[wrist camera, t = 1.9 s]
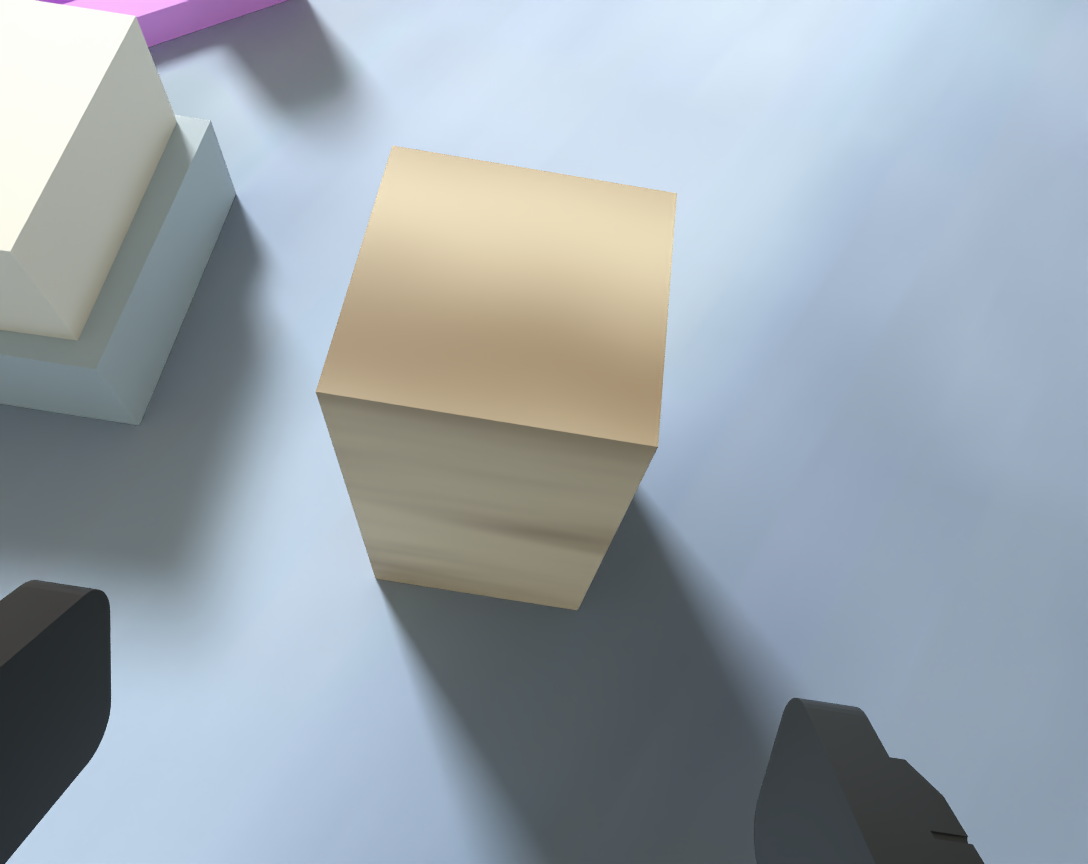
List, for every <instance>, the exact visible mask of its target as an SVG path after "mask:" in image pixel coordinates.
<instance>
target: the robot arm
mask: <svg viewBox="0 0 1088 864" xmlns="http://www.w3.org/2000/svg"><path fill="white" fill-rule="evenodd" d="M110 708H111V651H110V605H109V600H108V598H107V596H106V594H105V593H104V592H103V591H101V590H98V589H91V588H85V587H78V586H71V585H65V584H58V583H52V582H45V581H39V580H31V581H28V582H26V583H24V584H23V585H21V586H20V587H18V588H17V589H16V590H14V591H13V592H11V593H10V594H9V595H7V596H6V597H5V598H3V599H2V600H1V601H0V864H5V863H6V862H7V861H8V859H9V858H10V857H11V856H12V854H13V853H14V852H15V851H16V850H17V848H18V847H19V846H20V845H21V844H22V842H23V841H24V840H25V839H26V837H27V836H28V835H29V834H30V833H31V831H32V830H33V829H34V828H35V827H36V825H37V824H38V823H39V822H40V821H41V819H42V818H43V817H44V816H45V814H46V813H47V812H48V811H49V810H50V808H51V807H52V806H53V805H54V804H55V802H56V801H57V800H58V799H59V798H60V796H61V795H62V794H63V793H64V791H65V790H66V789H67V788H68V787H69V785H70V784H71V783H72V782H73V781H74V779H75V778H76V777H77V776H78V774H79V773H80V772H81V771H82V770H83V768H84V767H85V766H86V765H87V764H88V762H89V761H90V760H91V758H92V757H93V755H94V754H95V752H96V750H97V748H98V746H99V744H100V742H101V740H102V738H103V735H104V732H105V730H106V727H107V723H108V719H109V715H110ZM967 837H968V836H967V834H966V833H965V831H964V829H963V828H962V826H961V825H960V823H959V821H958V820H957V818H956V816H955V815H954V813H953V811H952V810H951V808H950V806H949V805H948V803H947V801H946V800H945V798H944V797H943V795H942V794H940V793H939V792H938V791H937V790H936V789H935V788H934V787H933V786H932V785H931V784H930V783H929V782H928V781H927V780H926V779H925V778H924V777H923V776H921V775H920V774H919V773H918V772H917V771H916V770H915V769H914V768H913V767H912V766H911V765H910V764H909V763H908V762H907V761H906V760H903V759H897V758H890V757H889V756H888V754H887V752H886V750H885V749H884V747H883V745H882V743H881V741H880V740H879V738H878V736H877V734H876V732H875V731H874V729H873V727H872V725H871V723H870V722H869V720H868V718H867V716H866V715H865V713H864V712H863V711H862V710H861V709H860V708H858V707H853V706H846V705H840V704H833V703H827V702H820V701H814V700H807V699H800V698H793V699H791V700H790V701H789V702H788V704H787V705H786V708H785V710H784V712H783V715H782V719H781V722H780V726H779V729H778V732H777V736H776V739H775V743H774V746H773V750H772V753H771V756H770V760H769V763H768V767H767V770H766V774H765V777H764V780H763V784H762V787H761V791H760V794H759V798H758V801H757V805H756V811H755V819H754V846H755V855H756V860H757V864H984V862H983V861H982V859H981V857H980V856H979V854H978V852H977V851H976V849H975V848H974V846H973V844H968V842H967Z"/></svg>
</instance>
